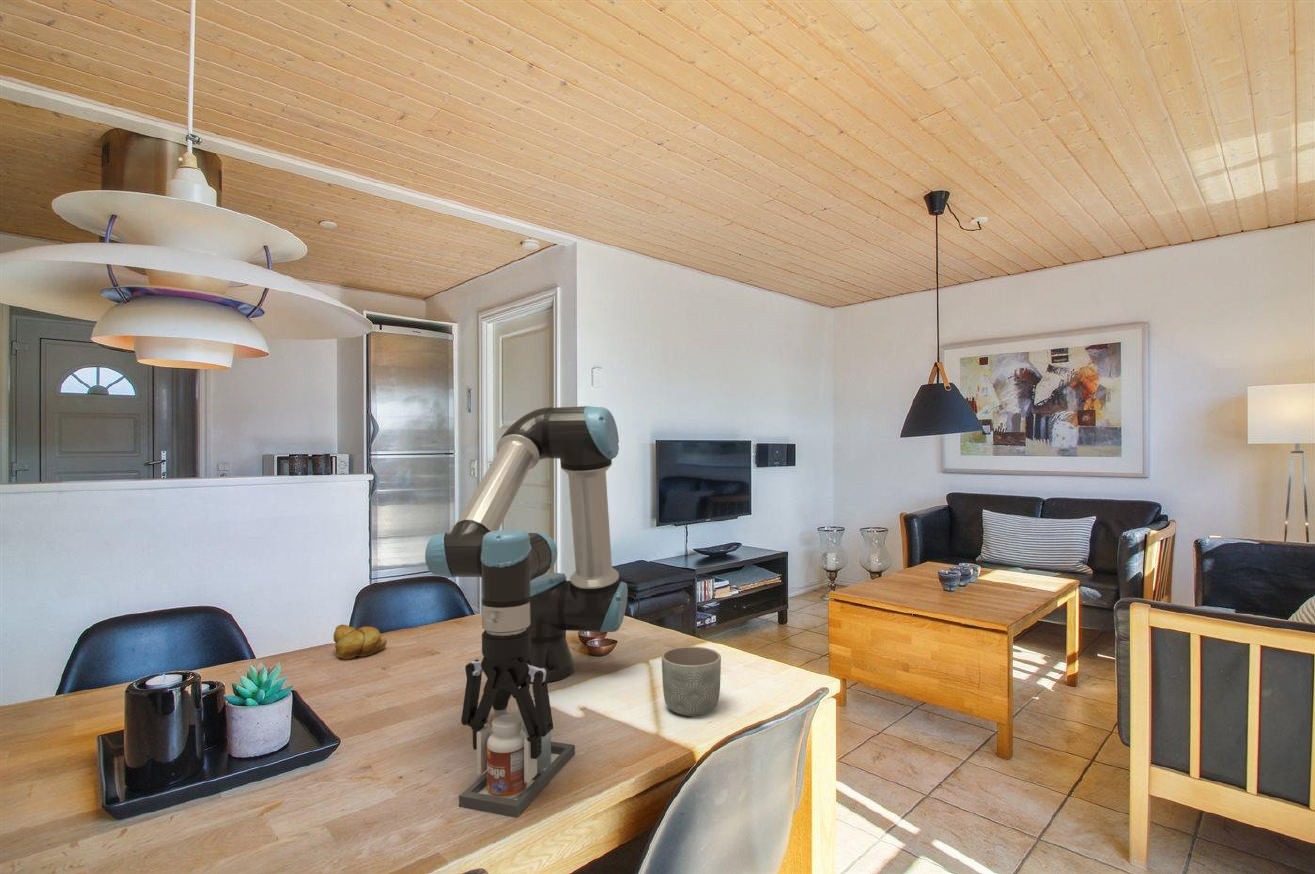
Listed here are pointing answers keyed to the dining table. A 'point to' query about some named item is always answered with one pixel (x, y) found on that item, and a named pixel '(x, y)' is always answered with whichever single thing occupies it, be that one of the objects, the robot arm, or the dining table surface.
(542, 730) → the robot arm
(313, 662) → the dining table surface
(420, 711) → the dining table surface
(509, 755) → the pill bottle
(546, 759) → the pale blue jar
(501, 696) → the light bulb
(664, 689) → the planter
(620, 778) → the dining table surface
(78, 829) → the dining table surface
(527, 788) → the dark grey tray
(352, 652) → the bread roll
